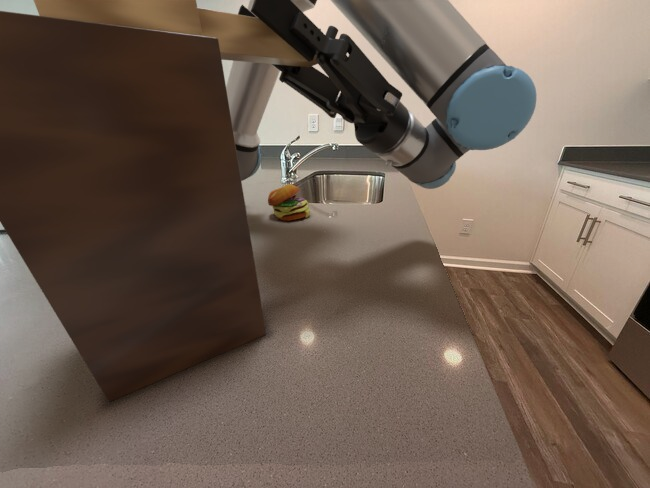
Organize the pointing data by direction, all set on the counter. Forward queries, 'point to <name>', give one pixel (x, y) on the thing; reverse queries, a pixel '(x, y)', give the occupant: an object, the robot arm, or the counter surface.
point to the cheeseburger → (288, 203)
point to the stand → (126, 193)
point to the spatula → (185, 25)
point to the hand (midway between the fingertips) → (246, 7)
